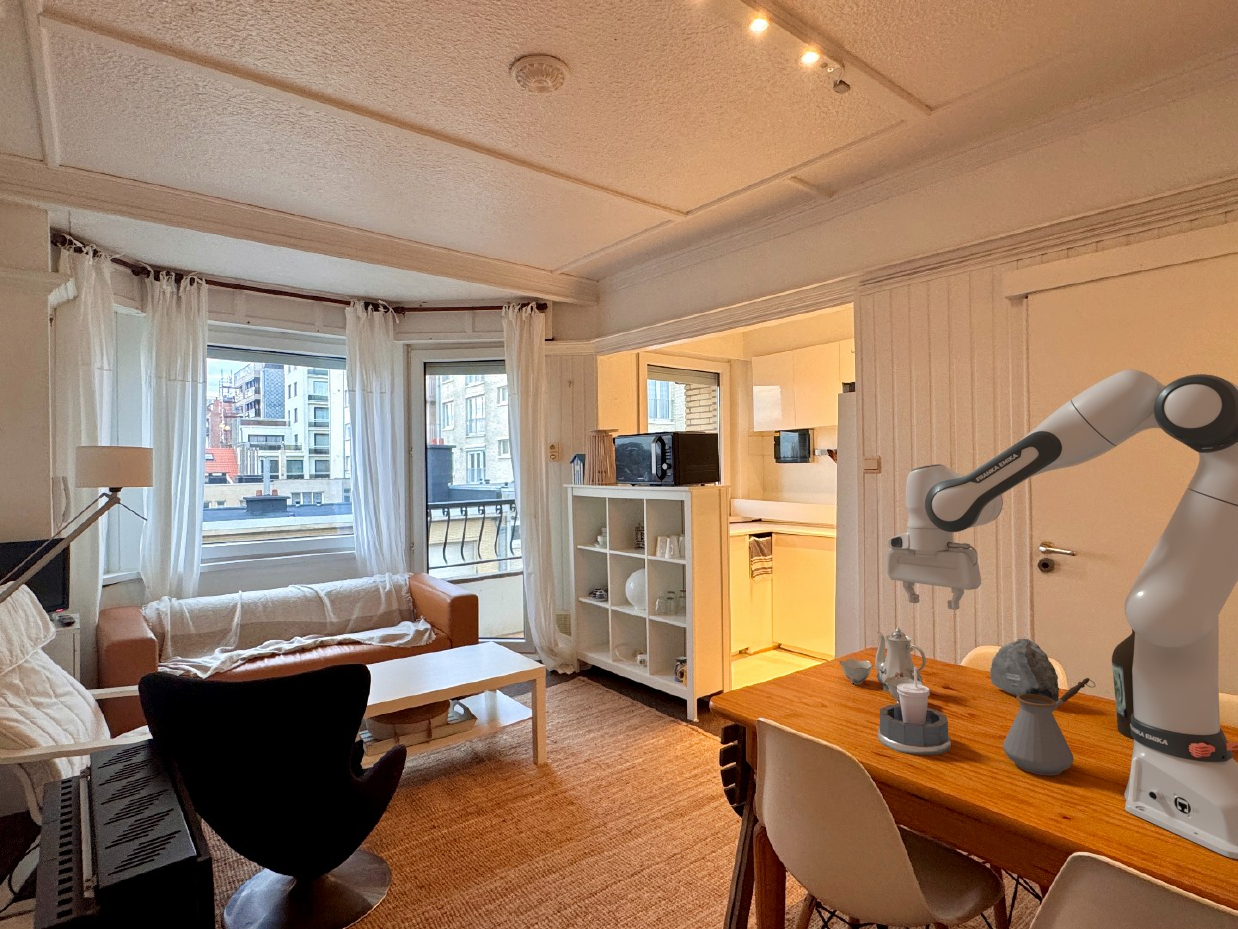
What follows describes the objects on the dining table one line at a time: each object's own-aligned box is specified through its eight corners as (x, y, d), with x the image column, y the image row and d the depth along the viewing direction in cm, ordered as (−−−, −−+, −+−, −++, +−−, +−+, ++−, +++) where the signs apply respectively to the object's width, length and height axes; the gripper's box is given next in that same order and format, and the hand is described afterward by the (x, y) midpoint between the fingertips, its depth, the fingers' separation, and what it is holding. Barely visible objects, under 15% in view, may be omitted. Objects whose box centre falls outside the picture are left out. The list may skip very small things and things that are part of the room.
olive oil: (1172, 731, 141) (1168, 614, 142) (1183, 749, 132) (1179, 624, 132) (1110, 722, 147) (1107, 610, 147) (1117, 739, 137) (1113, 619, 138)
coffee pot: (1045, 785, 119) (1042, 701, 119) (989, 760, 129) (987, 683, 130) (1123, 764, 126) (1121, 685, 126) (1064, 742, 137) (1062, 669, 137)
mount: (965, 752, 133) (965, 725, 133) (901, 758, 131) (900, 730, 131) (924, 726, 147) (923, 701, 147) (865, 731, 145) (865, 706, 145)
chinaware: (829, 686, 180) (822, 626, 180) (874, 671, 187) (868, 613, 187) (913, 720, 155) (905, 650, 154) (961, 701, 162) (954, 634, 161)
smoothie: (934, 741, 135) (932, 672, 135) (901, 738, 137) (899, 671, 137) (927, 729, 141) (925, 663, 142) (895, 727, 143) (893, 662, 143)
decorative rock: (1063, 708, 156) (1061, 644, 156) (1040, 711, 154) (1038, 647, 155) (1007, 686, 172) (1005, 629, 172) (985, 689, 170) (984, 631, 170)
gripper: (986, 542, 133) (989, 611, 133) (899, 537, 151) (902, 597, 151) (966, 545, 130) (970, 615, 130) (881, 539, 148) (884, 601, 148)
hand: (933, 605), depth 140 cm, fingers open, 8 cm apart
